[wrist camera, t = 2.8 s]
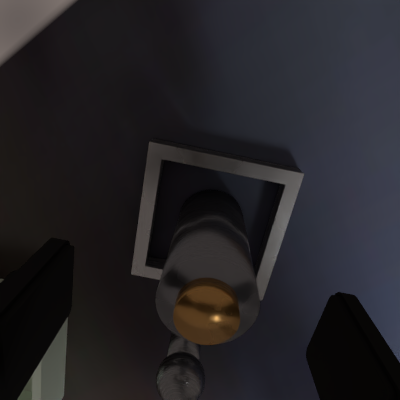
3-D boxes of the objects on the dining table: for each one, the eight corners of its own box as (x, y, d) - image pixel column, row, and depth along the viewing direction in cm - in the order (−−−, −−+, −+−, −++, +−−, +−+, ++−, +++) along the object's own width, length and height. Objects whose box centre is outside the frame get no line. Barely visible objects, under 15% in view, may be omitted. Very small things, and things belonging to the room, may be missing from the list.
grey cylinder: (250, 196, 18) (276, 284, 10) (234, 253, 20) (247, 370, 12) (185, 183, 18) (159, 260, 10) (174, 240, 20) (144, 350, 12)
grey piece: (298, 168, 18) (338, 207, 12) (241, 345, 22) (250, 434, 17) (153, 138, 18) (121, 162, 12) (127, 322, 22) (95, 405, 16)
